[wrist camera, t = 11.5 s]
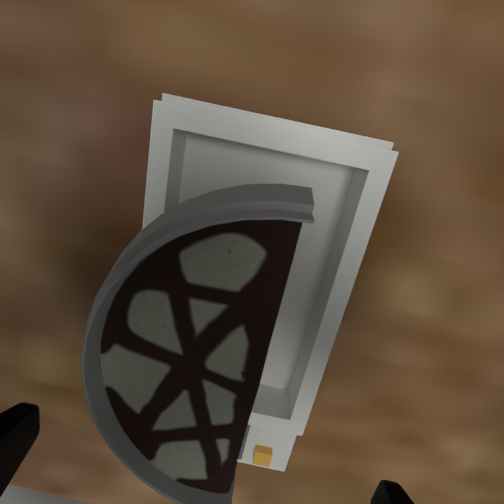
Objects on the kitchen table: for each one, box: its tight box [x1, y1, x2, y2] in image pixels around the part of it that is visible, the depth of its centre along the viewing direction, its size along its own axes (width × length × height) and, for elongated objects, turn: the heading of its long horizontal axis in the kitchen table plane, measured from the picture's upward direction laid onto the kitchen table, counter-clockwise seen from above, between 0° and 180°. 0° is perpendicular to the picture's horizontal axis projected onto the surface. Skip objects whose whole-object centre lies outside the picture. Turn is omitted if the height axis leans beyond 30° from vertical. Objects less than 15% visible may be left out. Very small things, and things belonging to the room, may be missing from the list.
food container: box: [81, 183, 315, 504], centre depth 14 cm, size 12×6×10 cm, turn 168°
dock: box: [142, 93, 399, 472], centre depth 19 cm, size 12×24×4 cm, turn 169°
